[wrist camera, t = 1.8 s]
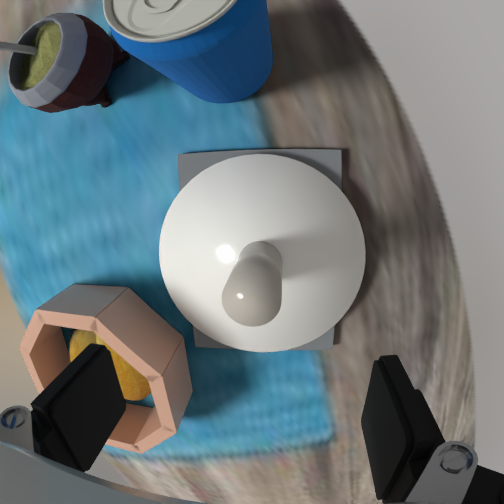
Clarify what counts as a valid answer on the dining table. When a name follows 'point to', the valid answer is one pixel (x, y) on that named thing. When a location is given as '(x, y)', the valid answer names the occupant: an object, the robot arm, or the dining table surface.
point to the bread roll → (128, 376)
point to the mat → (316, 158)
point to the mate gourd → (63, 63)
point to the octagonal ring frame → (123, 343)
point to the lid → (262, 253)
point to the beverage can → (198, 42)
